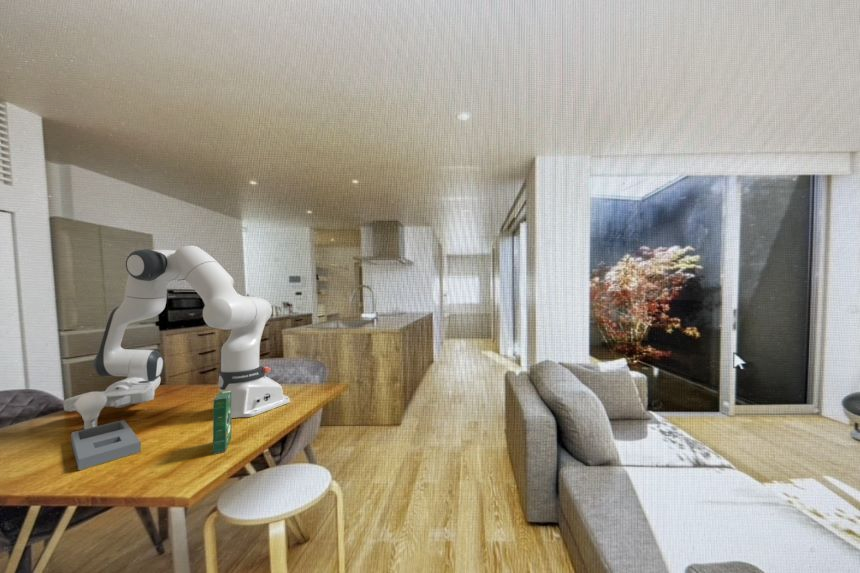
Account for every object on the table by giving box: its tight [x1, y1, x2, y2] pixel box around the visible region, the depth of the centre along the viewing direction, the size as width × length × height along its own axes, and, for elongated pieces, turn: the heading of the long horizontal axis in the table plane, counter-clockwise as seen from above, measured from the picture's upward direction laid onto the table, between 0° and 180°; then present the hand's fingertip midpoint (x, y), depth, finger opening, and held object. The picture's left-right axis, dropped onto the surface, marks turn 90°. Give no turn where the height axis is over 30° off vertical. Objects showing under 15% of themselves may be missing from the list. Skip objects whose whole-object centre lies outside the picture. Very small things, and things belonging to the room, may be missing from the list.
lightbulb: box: [75, 391, 107, 430], centre depth 88 cm, size 6×6×11 cm
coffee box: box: [212, 391, 232, 455], centre depth 76 cm, size 8×3×13 cm, turn 25°
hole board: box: [70, 419, 142, 471], centre depth 77 cm, size 10×24×2 cm, turn 53°
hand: (93, 406), depth 89 cm, fingers open, 8 cm apart
